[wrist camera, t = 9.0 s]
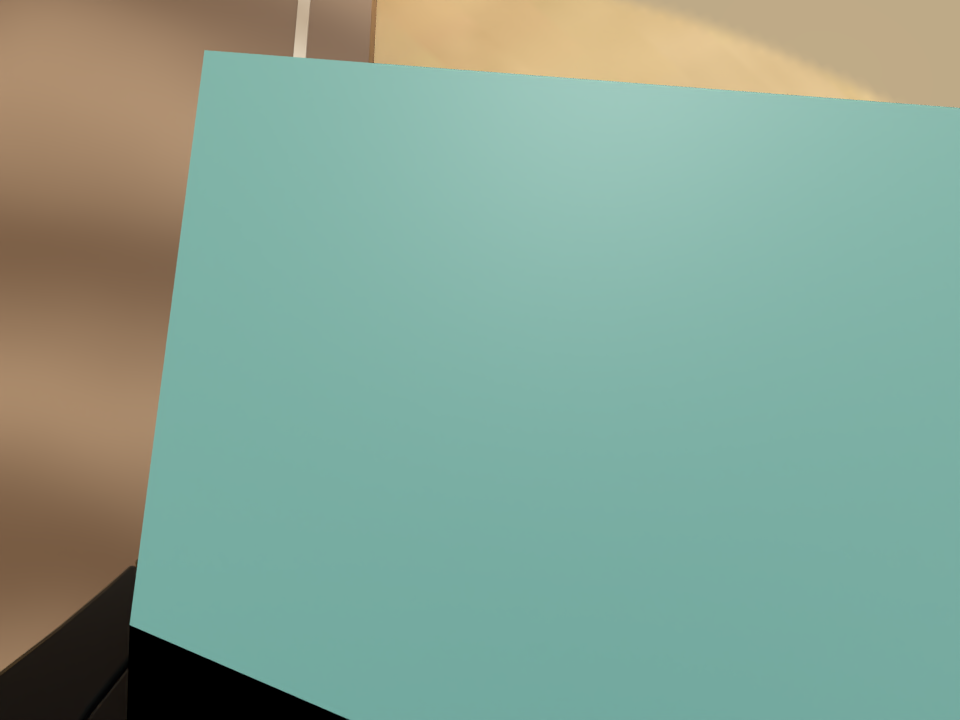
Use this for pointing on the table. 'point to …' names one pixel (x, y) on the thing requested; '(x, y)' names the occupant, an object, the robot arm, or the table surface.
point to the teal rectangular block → (554, 404)
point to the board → (102, 264)
